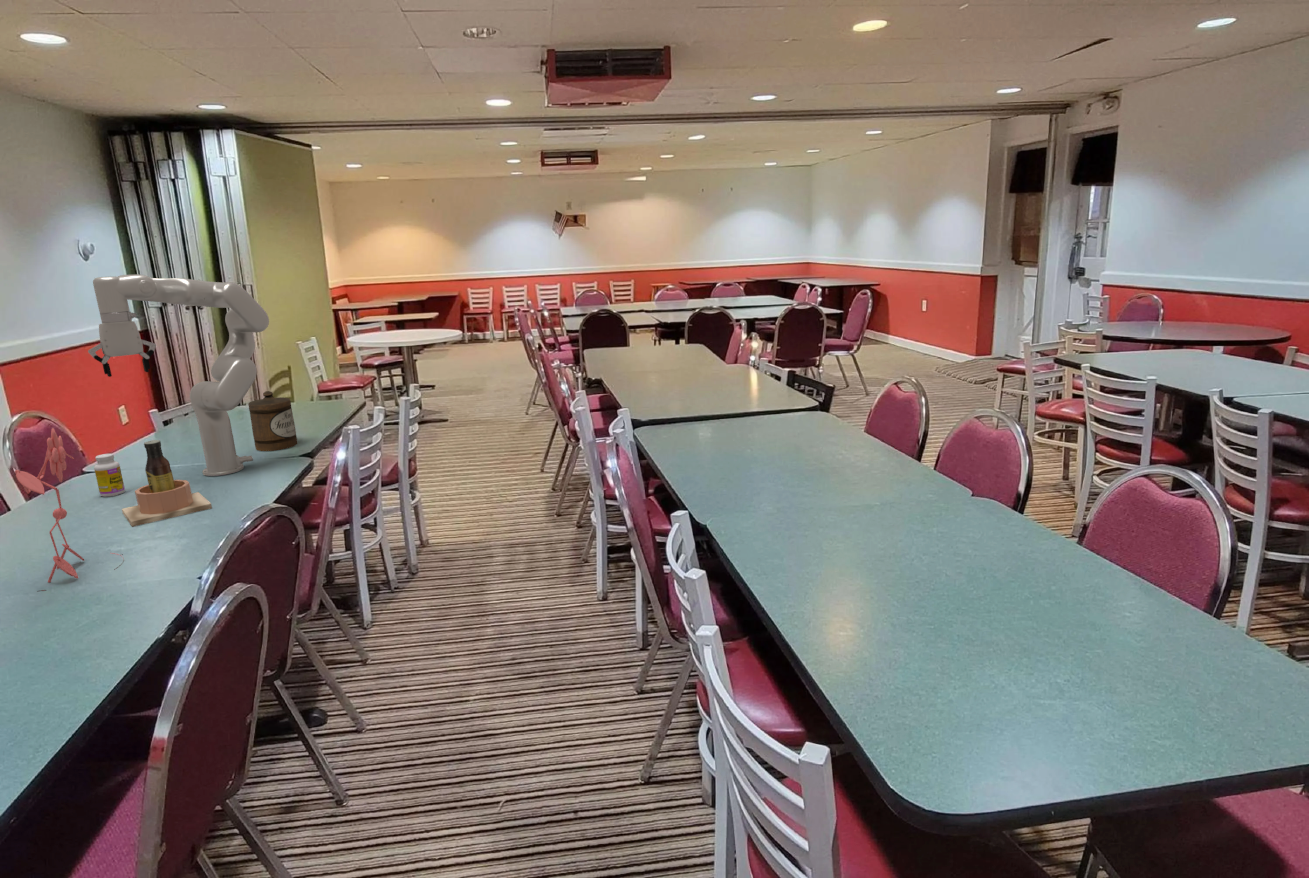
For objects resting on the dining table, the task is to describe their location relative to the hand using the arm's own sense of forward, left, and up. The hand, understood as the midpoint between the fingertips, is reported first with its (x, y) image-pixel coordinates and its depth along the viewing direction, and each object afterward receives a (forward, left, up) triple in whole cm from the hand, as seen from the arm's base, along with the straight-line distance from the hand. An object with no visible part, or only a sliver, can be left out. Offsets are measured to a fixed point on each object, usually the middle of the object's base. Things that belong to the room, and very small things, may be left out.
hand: (128, 374), depth 231 cm
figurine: (+24, +61, -38) cm, 76 cm away
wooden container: (-46, -30, -39) cm, 67 cm away
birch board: (+1, +26, -38) cm, 46 cm away
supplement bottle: (+10, -8, -38) cm, 41 cm away
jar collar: (+1, +26, -37) cm, 45 cm away
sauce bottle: (+1, +26, -37) cm, 45 cm away
